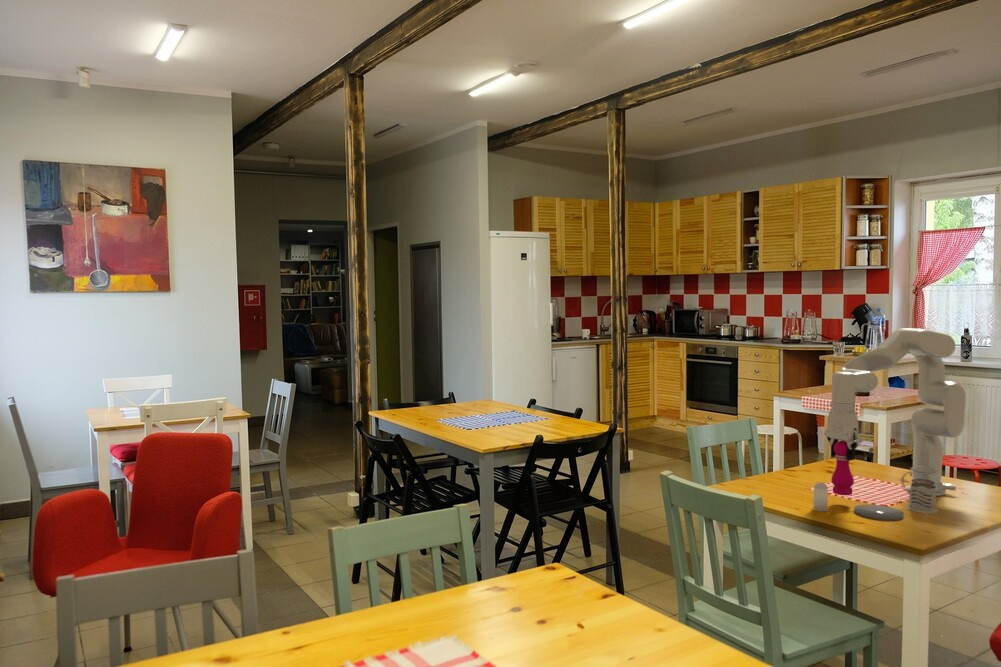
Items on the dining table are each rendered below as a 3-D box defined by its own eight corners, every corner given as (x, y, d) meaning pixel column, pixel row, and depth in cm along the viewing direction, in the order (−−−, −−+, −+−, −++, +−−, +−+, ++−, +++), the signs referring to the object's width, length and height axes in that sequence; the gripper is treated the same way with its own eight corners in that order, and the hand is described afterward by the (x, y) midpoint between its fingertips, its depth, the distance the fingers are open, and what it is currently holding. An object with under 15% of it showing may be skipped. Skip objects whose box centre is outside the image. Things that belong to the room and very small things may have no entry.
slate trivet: (902, 511, 262) (902, 507, 262) (904, 522, 248) (905, 519, 248) (854, 505, 268) (854, 502, 268) (853, 516, 254) (854, 513, 254)
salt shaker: (827, 508, 264) (828, 481, 264) (827, 512, 260) (827, 484, 260) (813, 507, 266) (814, 480, 265) (813, 510, 262) (813, 482, 261)
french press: (934, 514, 258) (937, 441, 256) (897, 508, 266) (899, 436, 264) (941, 509, 265) (944, 437, 264) (905, 502, 273) (907, 433, 272)
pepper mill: (856, 492, 270) (857, 436, 269) (849, 497, 265) (850, 439, 263) (835, 489, 275) (836, 434, 274) (828, 493, 269) (828, 437, 268)
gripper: (815, 404, 274) (815, 454, 275) (856, 411, 258) (855, 464, 259) (831, 403, 277) (830, 452, 278) (872, 409, 262) (871, 461, 263)
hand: (842, 457), depth 269 cm, fingers closed on pepper mill, 6 cm apart
